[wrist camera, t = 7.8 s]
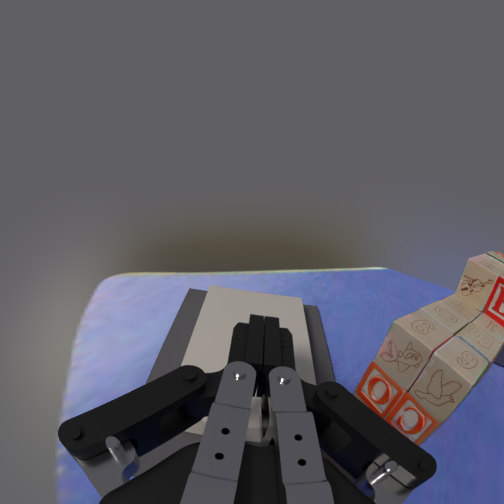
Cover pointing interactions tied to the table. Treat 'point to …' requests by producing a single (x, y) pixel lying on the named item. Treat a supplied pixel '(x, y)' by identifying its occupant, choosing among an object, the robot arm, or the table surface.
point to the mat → (175, 353)
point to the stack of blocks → (438, 353)
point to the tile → (221, 329)
